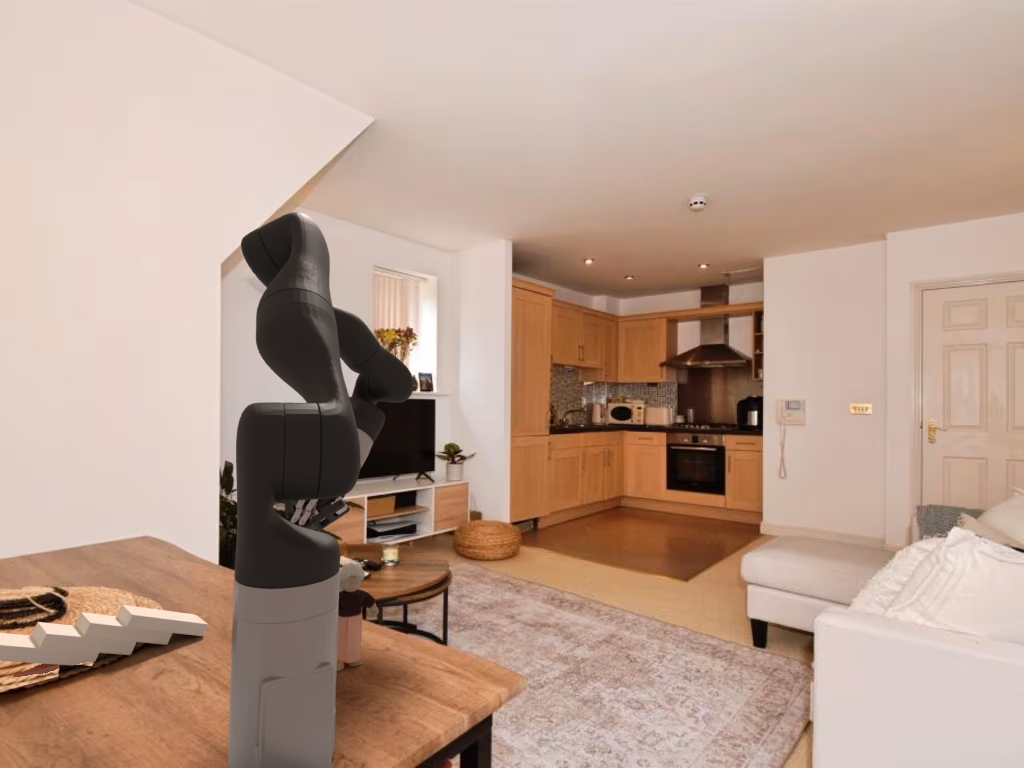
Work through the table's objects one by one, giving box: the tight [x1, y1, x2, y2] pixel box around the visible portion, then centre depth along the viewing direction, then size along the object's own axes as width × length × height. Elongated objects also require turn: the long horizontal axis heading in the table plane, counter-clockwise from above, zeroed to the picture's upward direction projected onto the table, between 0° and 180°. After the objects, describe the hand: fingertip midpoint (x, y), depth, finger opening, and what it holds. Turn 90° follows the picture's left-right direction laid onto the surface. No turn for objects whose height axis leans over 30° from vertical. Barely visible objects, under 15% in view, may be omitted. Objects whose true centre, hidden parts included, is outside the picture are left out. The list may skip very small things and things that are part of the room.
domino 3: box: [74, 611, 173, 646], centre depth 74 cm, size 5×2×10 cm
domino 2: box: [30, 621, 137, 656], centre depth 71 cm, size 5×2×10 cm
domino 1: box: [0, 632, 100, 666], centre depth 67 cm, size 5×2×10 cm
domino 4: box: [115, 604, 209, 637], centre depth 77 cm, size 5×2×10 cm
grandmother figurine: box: [336, 562, 380, 672], centre depth 72 cm, size 8×4×13 cm, turn 136°
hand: (287, 549), depth 88 cm, fingers closed
